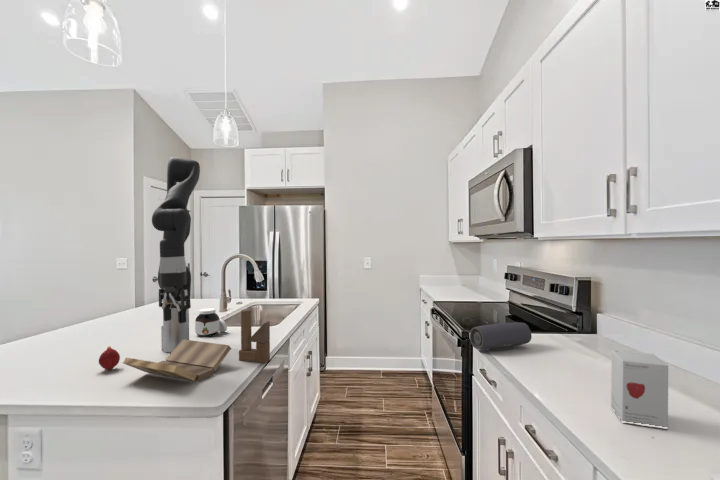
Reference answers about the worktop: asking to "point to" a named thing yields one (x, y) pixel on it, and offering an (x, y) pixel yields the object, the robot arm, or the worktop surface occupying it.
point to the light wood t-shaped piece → (254, 340)
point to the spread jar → (209, 323)
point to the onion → (109, 358)
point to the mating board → (193, 370)
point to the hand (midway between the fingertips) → (174, 321)
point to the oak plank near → (160, 368)
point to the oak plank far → (199, 353)
